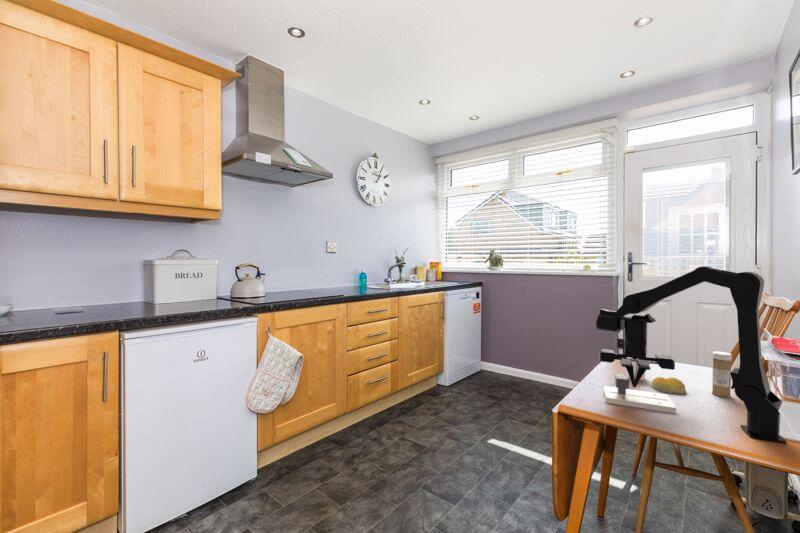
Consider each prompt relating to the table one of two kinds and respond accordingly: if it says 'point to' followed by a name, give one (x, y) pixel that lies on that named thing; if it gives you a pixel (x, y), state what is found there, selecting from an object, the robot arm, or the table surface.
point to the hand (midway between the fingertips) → (634, 386)
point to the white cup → (634, 371)
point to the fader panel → (639, 399)
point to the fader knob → (621, 383)
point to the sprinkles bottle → (721, 374)
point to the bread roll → (669, 385)
